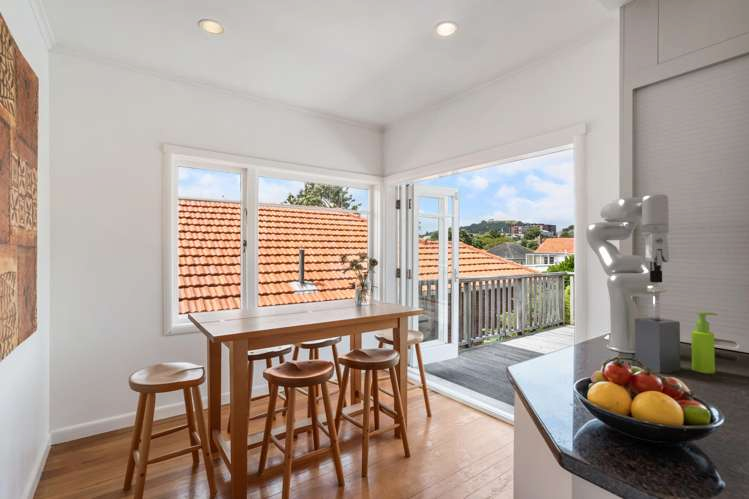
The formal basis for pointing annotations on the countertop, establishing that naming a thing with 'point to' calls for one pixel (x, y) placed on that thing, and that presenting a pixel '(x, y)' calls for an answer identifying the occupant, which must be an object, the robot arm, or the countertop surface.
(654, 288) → the plunger
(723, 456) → the countertop surface
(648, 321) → the block
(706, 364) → the soap dispenser
